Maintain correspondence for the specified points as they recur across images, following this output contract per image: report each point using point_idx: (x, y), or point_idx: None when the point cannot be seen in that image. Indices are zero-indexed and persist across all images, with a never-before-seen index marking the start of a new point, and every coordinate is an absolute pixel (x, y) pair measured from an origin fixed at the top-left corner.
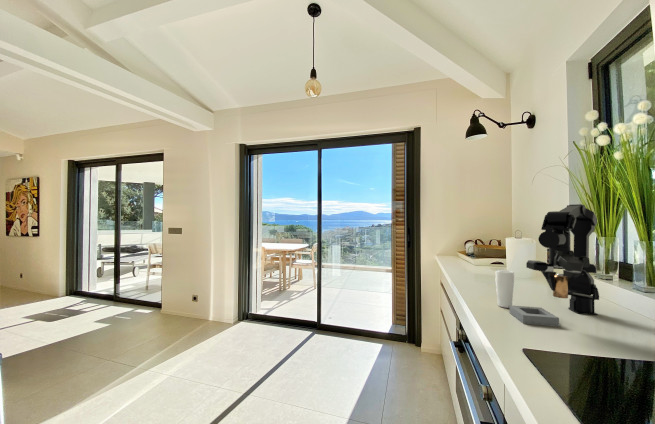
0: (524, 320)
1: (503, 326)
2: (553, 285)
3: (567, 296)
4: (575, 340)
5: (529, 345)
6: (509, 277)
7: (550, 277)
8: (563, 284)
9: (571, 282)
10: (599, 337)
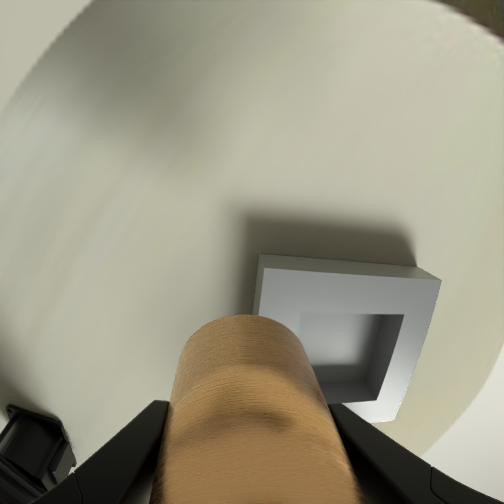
0: (420, 271)
1: (499, 217)
2: (376, 437)
3: (201, 336)
4: (304, 73)
5: (490, 53)
6: None
7: (491, 500)
8: (273, 440)
9: (95, 482)
10: (142, 130)
